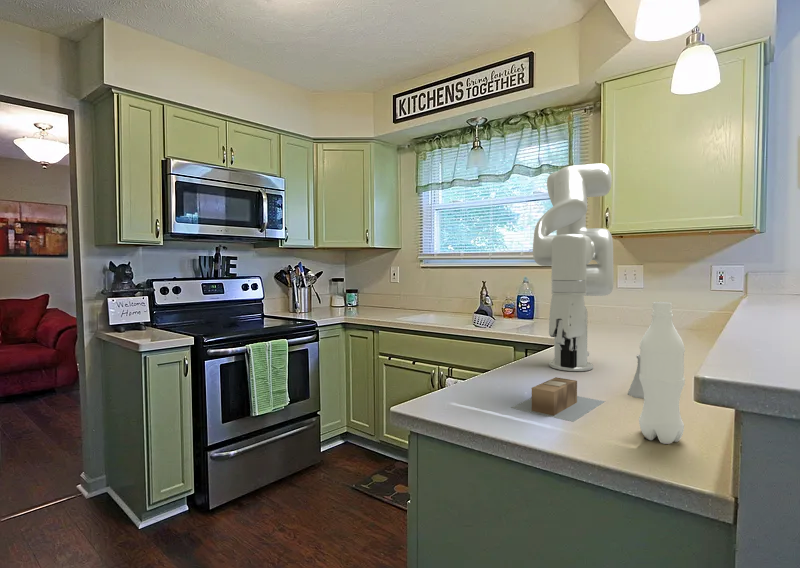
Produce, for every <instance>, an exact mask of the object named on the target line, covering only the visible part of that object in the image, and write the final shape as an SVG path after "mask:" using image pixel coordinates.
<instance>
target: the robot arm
mask: <svg viewBox="0 0 800 568" xmlns="http://www.w3.org/2000/svg"><path fill="white" fill-rule="evenodd" d="M612 182H613V177H612V171H611V169H610V168H609V166H608V165H607V164H605V163H587V164H575V165H568V166H565V167H564V166H563V167H562V168H560V169H559V170H557V171H554V172H552V173H550V174H549V175H548V176H547V179H546V187H547V192H548V197H549V200H550V203H551V204H552V207H550V208H549V209H548V210H547V211H546V212H545V213H544V214H543V215H541V217H540V218H539V220H538V221H537V223H536V225H535V227H534V233H533V242H532V255H533V256H532V257H533V260H534V261H535V263H536V264H537V265H539V266H542V267H545V266H546V267H551V277H550V278H551V299H550V307H549V321H548V322H549V323H548V335H549V336H550V338H553V339H554V342H553V343H554V345H553V347H554V348H553V349H554V350H553V351H554V353H553V354H554V355H553V356H554V357H553V358H554V359H553V360H550V361H549V363H548V364H549V365H548V366H549V367H550V368H553V369H554V370H560V371H565V372H566V371H567V372H587V371H591V370H592V369H593V368H594V365H593V363H592V362H589V361H588V357H589V356H590V351H588V309H587V306H586V305H585V296H590V297H593V296H595V297H598V296H600V297H601V296H602V297H603V296H608V295H610V294H611V293H612V291H613V289H614V285H615V284H614V282H615V281H614V241H613V235H612V233H611V232H610V230H609V229H606V228H604V227H603V228H602V227H599V228H597V227H595V228H588V227H587V223H586V221H587V220H586V219H587V212H588V198H593V197H594V198H595V197H604V196H606V195H608V194H609V193H610V190H611V188H612ZM555 231H556V235H550V234H551V233H553V232H555ZM592 261H594V262H596V263H591V262H592Z"/></svg>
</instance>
